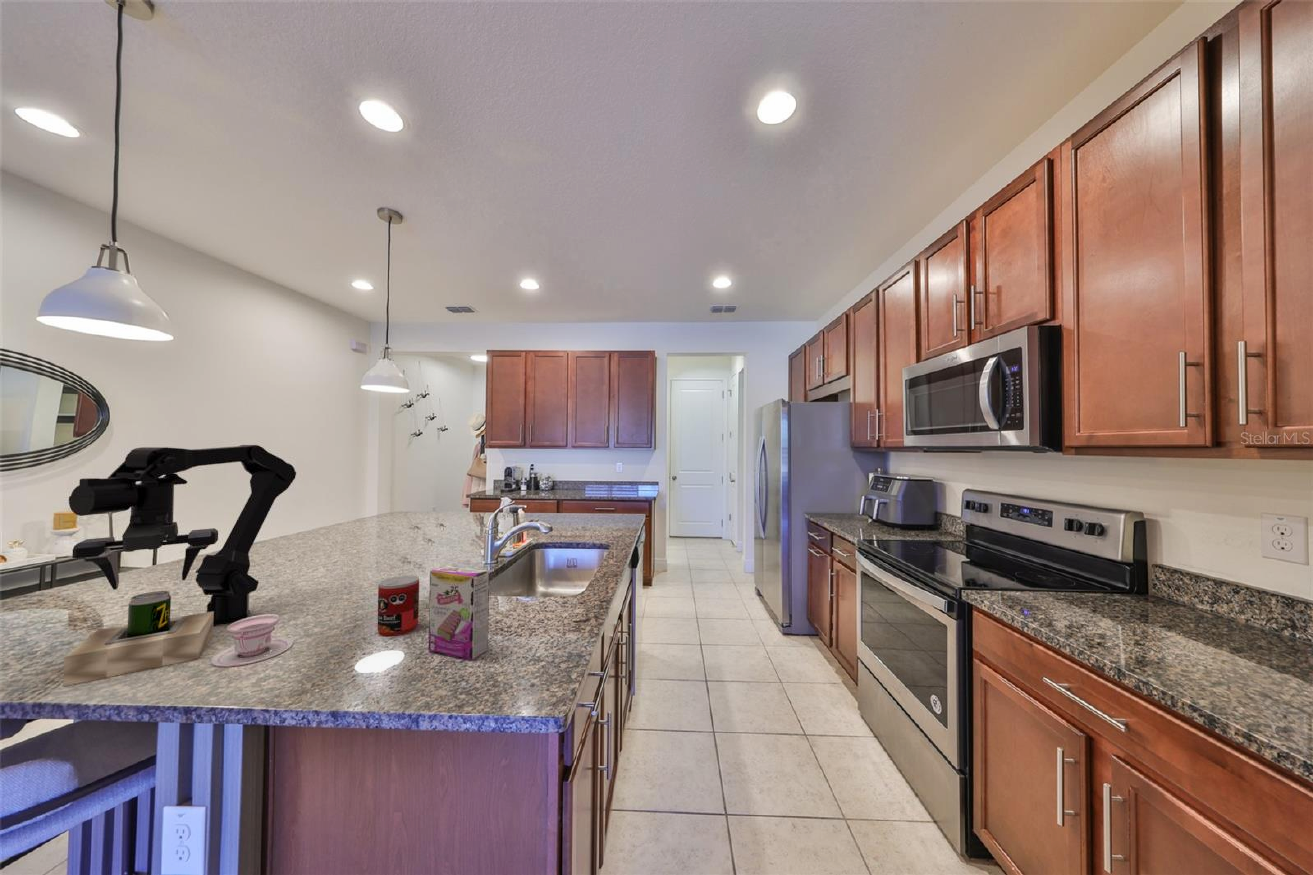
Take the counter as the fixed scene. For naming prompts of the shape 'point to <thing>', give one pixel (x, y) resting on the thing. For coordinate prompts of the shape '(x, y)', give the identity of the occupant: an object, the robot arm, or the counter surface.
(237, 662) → the teacup
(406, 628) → the canned food
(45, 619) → the counter surface
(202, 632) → the socket block
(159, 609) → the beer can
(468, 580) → the candy bar box
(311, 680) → the counter surface
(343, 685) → the counter surface
